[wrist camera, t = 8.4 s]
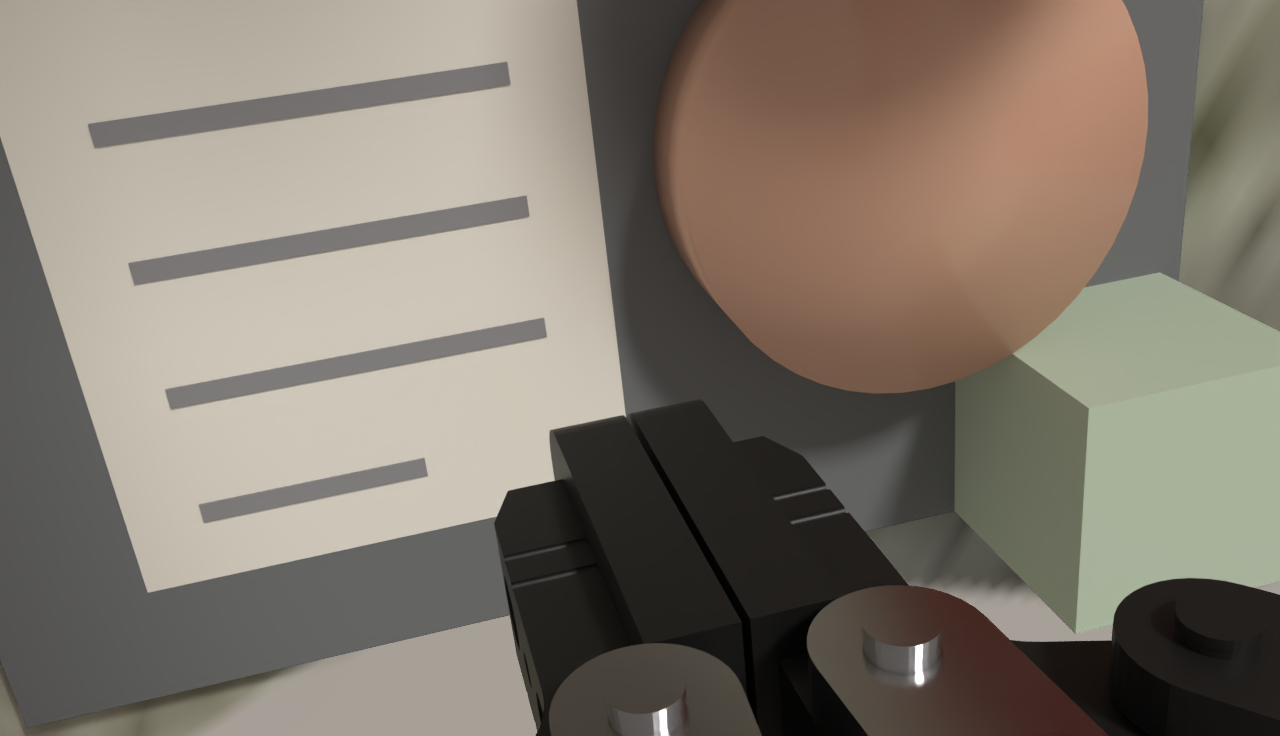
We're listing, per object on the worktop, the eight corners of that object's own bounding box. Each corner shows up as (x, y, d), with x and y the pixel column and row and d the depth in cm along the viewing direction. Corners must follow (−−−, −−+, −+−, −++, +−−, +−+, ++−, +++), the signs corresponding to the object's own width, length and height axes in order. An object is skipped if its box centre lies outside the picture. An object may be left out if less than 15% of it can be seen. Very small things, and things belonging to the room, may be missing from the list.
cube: (956, 313, 26) (1089, 408, 22) (1159, 272, 27) (1327, 355, 23) (954, 510, 29) (1075, 634, 24) (1143, 466, 29) (1294, 576, 25)
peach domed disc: (627, -71, 22) (665, -60, 19) (1082, -134, 23) (1165, -131, 21) (676, 384, 25) (712, 436, 23) (1064, 302, 27) (1132, 343, 25)
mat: (-318, -190, 18) (-340, -191, 18) (1212, -339, 23) (1236, -344, 22) (32, 709, 25) (26, 729, 25) (1146, 451, 30) (1163, 463, 30)
